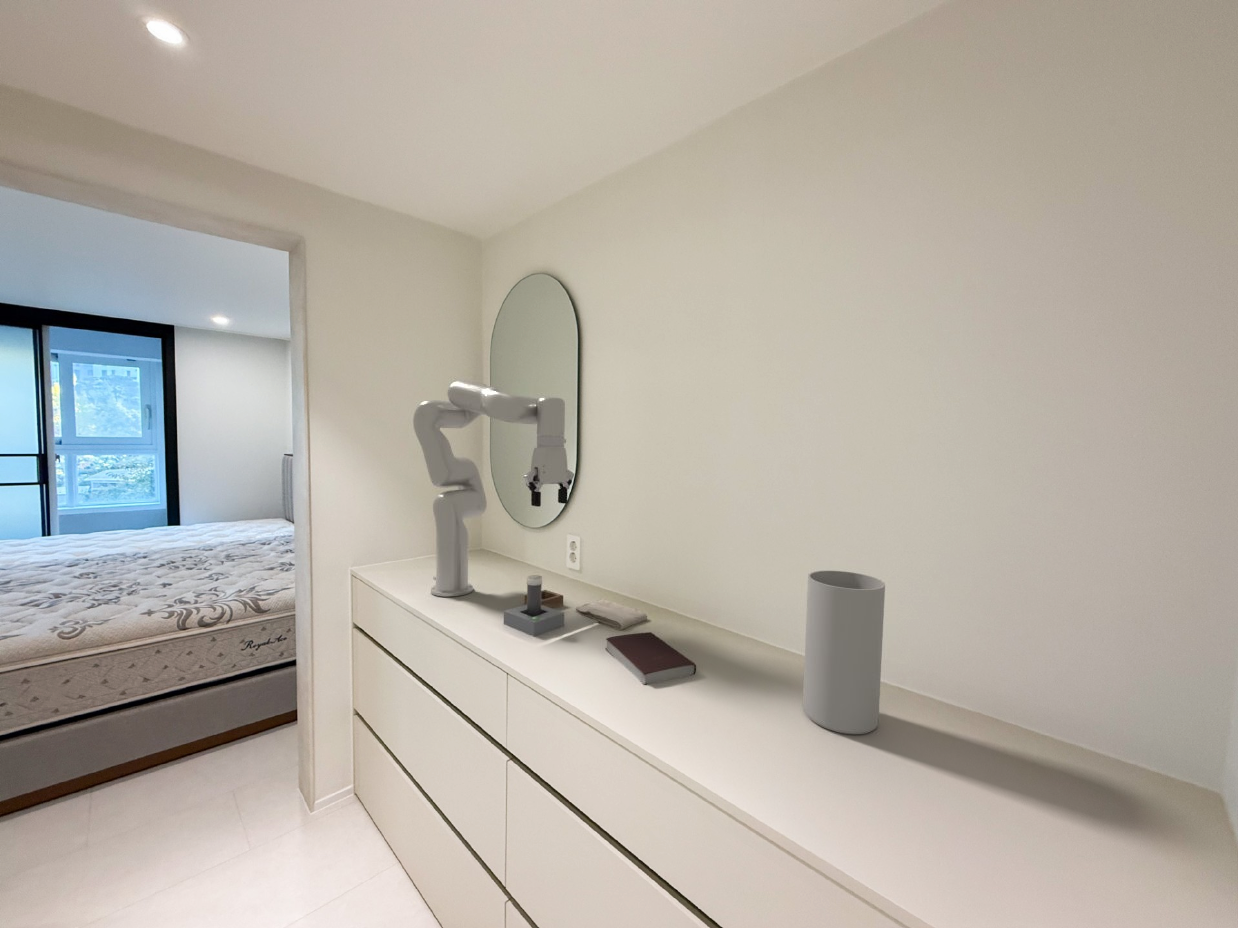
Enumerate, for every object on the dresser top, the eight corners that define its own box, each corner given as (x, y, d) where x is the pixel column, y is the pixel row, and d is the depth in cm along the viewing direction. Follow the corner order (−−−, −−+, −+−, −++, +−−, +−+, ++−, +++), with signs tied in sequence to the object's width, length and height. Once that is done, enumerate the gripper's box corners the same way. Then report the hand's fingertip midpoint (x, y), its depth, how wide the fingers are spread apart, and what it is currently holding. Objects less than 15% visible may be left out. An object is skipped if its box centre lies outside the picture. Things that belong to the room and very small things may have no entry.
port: (503, 626, 134) (503, 609, 134) (533, 616, 141) (534, 600, 141) (533, 638, 126) (533, 620, 126) (563, 627, 133) (564, 611, 133)
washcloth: (600, 606, 153) (600, 595, 153) (649, 621, 141) (649, 610, 141) (571, 616, 144) (571, 605, 144) (621, 633, 132) (621, 621, 132)
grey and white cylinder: (523, 623, 133) (523, 577, 133) (534, 619, 136) (535, 574, 136) (532, 627, 131) (533, 580, 130) (544, 623, 134) (545, 577, 133)
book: (651, 643, 126) (652, 629, 126) (696, 676, 109) (696, 661, 109) (604, 651, 121) (604, 637, 121) (643, 687, 104) (644, 671, 103)
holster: (524, 607, 149) (524, 595, 149) (545, 601, 155) (545, 589, 155) (542, 613, 144) (542, 601, 144) (563, 607, 150) (563, 595, 149)
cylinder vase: (849, 697, 101) (855, 569, 99) (894, 733, 88) (901, 588, 87) (789, 701, 98) (795, 571, 97) (827, 739, 86) (833, 590, 85)
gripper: (564, 442, 152) (563, 500, 153) (516, 442, 139) (515, 505, 139) (582, 443, 147) (581, 503, 148) (534, 442, 134) (533, 508, 135)
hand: (549, 504), depth 144 cm, fingers open, 9 cm apart
